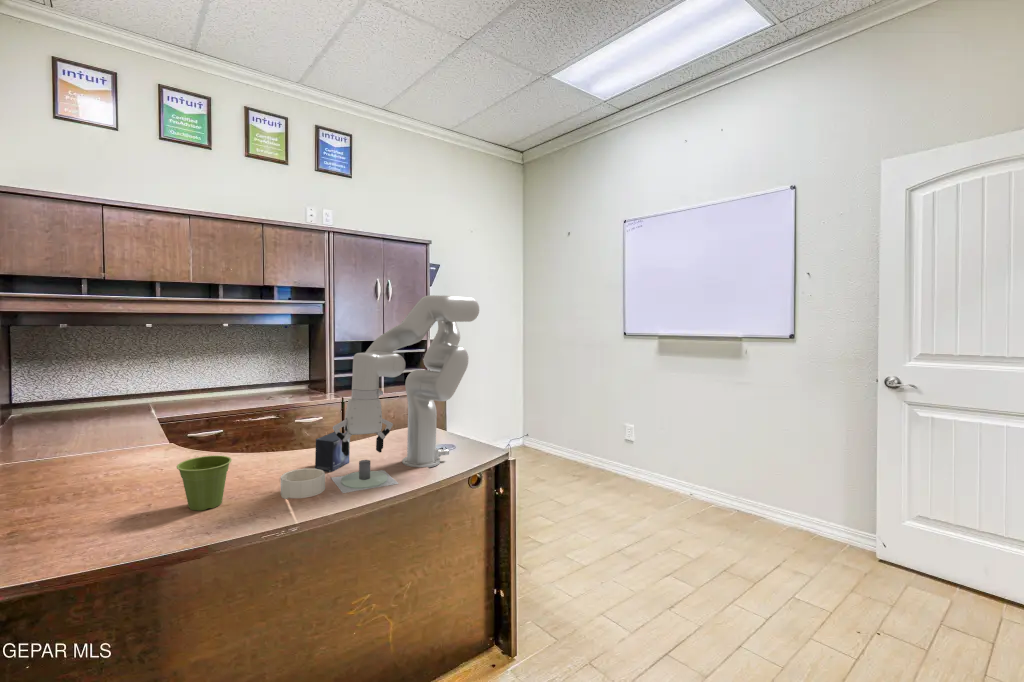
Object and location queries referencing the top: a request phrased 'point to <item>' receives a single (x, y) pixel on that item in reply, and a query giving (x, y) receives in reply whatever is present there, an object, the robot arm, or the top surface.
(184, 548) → the top surface
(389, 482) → the mat
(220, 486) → the plant pot
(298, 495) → the bowl
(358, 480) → the lid
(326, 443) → the small box
